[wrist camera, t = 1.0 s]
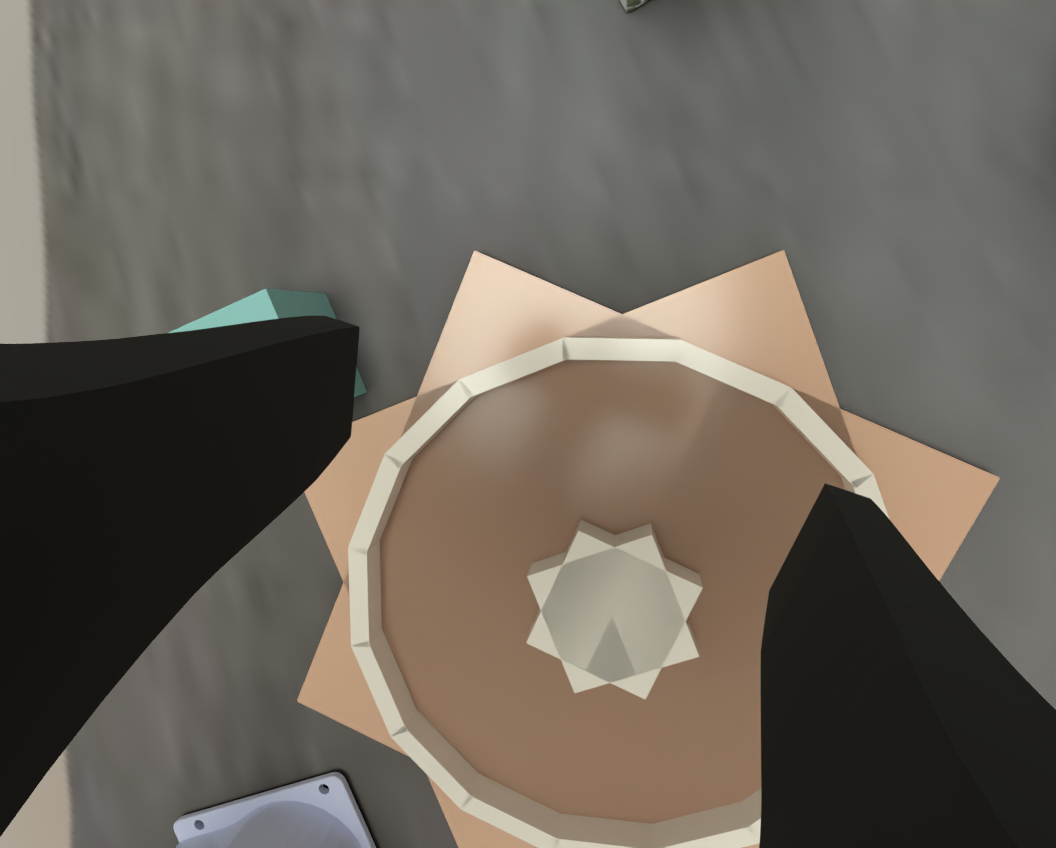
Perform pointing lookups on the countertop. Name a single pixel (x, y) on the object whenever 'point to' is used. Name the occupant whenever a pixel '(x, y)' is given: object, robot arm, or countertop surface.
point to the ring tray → (597, 553)
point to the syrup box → (632, 4)
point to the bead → (271, 313)
